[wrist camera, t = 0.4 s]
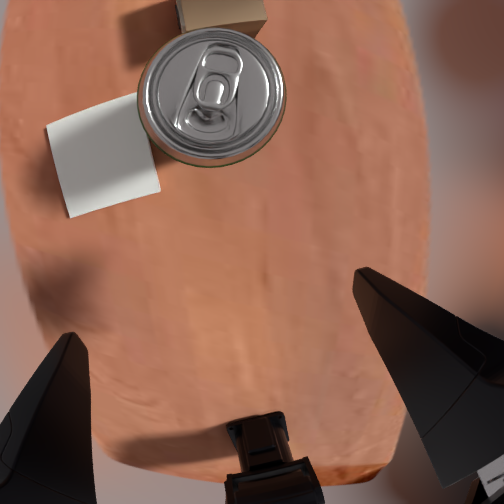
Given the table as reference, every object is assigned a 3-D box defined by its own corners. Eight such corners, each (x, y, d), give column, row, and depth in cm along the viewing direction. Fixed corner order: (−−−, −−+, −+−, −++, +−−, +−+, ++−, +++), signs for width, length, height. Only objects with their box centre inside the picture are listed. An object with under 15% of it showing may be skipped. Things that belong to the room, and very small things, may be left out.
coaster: (161, 190, 21) (160, 191, 20) (73, 215, 20) (70, 218, 20) (139, 93, 18) (137, 91, 17) (49, 125, 17) (46, 125, 17)
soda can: (160, 143, 20) (117, 160, 9) (175, 72, 18) (152, 7, 7) (233, 155, 21) (276, 185, 10) (249, 85, 19) (310, 38, 8)
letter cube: (253, 39, 18) (267, 19, 14) (183, 51, 17) (180, 32, 13) (241, -12, 16) (252, -40, 12) (173, -2, 16) (169, -29, 12)
